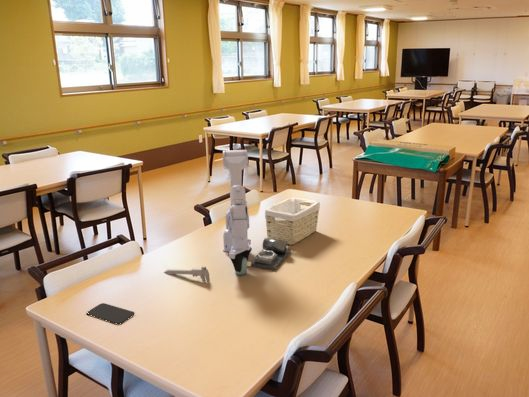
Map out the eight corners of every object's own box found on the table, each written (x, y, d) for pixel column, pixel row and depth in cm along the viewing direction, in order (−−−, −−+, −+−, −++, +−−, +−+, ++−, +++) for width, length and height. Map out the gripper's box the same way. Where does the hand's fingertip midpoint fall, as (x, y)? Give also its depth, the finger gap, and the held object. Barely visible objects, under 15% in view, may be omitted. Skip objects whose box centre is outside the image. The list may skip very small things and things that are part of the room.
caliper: (209, 282, 165) (208, 267, 163) (208, 283, 164) (207, 268, 162) (165, 272, 174) (164, 257, 172) (163, 273, 173) (162, 258, 171)
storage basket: (291, 224, 221) (291, 195, 216) (321, 230, 212) (321, 201, 207) (263, 240, 202) (263, 209, 198) (294, 248, 193) (294, 215, 189)
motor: (248, 265, 177) (248, 250, 175) (266, 248, 192) (266, 234, 191) (275, 270, 172) (275, 255, 170) (291, 252, 188) (291, 238, 186)
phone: (102, 302, 151) (136, 312, 144) (102, 304, 151) (136, 314, 145) (84, 313, 145) (119, 324, 138) (85, 315, 145) (119, 326, 138)
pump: (233, 273, 169) (232, 260, 168) (238, 268, 173) (237, 255, 172) (248, 276, 167) (247, 262, 165) (253, 271, 171) (252, 258, 169)
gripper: (240, 244, 158) (242, 278, 162) (257, 229, 171) (258, 262, 175) (223, 241, 161) (224, 275, 165) (240, 227, 173) (242, 259, 177)
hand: (241, 268), depth 170 cm, fingers closed on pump, 4 cm apart
